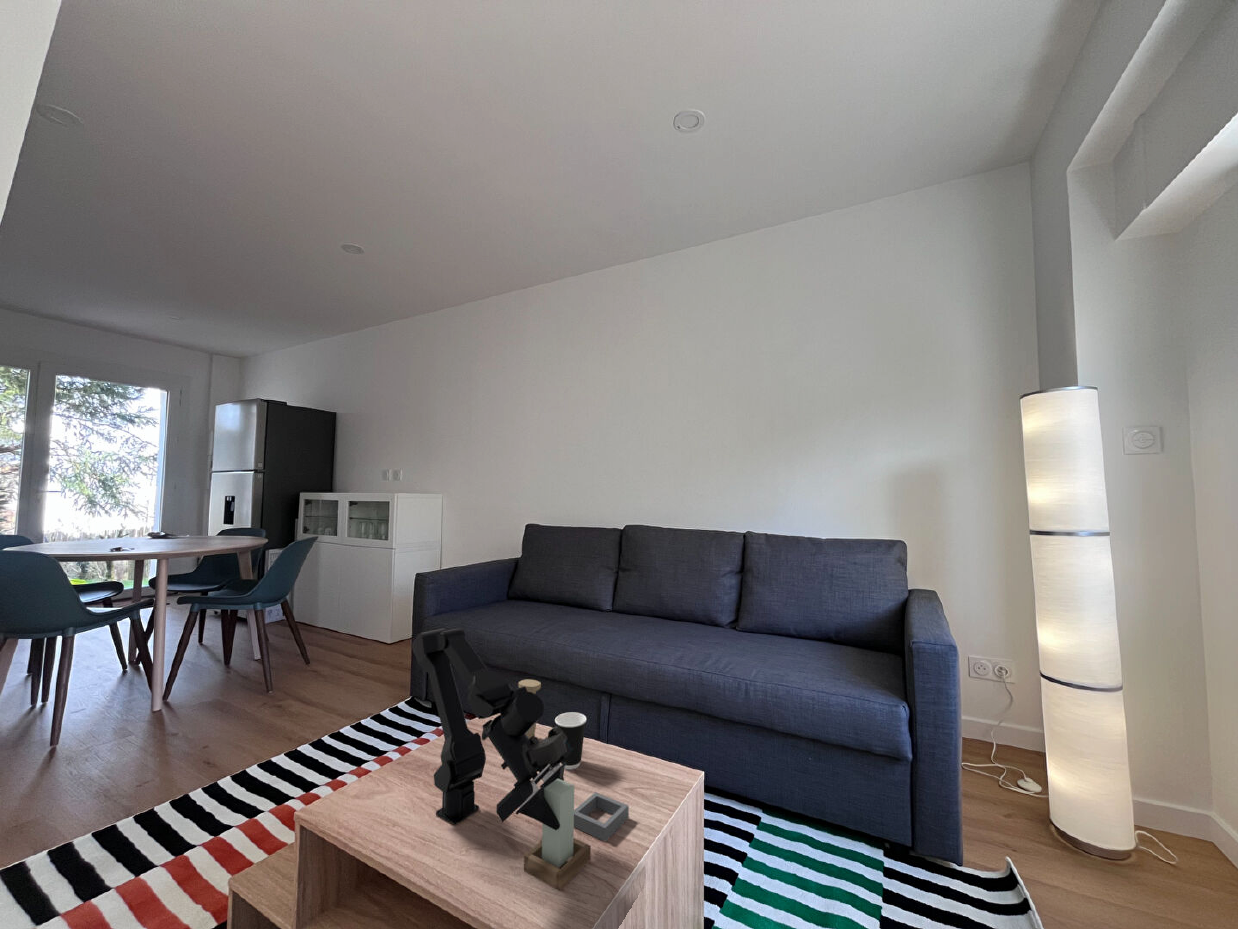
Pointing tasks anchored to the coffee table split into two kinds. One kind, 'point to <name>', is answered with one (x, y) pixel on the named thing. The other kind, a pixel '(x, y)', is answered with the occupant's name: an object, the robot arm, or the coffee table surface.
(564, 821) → the peg
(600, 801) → the socket
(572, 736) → the dixie cup
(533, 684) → the handle
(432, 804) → the coffee table surface
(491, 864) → the coffee table surface
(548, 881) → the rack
